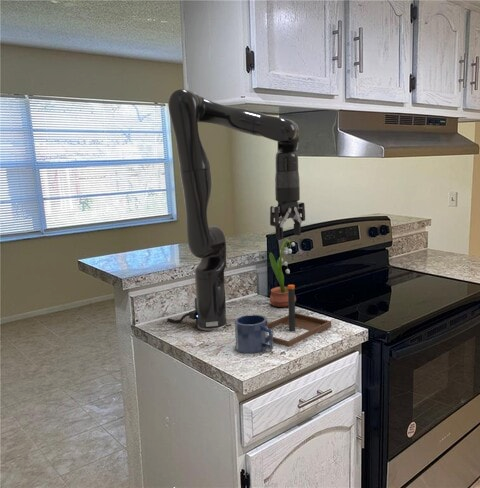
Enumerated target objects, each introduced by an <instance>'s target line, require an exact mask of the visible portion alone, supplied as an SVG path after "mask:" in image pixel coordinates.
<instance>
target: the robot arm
mask: <svg viewBox="0 0 480 488" xmlns="http://www.w3.org/2000/svg"><path fill="white" fill-rule="evenodd" d="M167 102H168V103H167V107H168V112H169V116H170V120H171V124H172V128H173V133H174V137H175V142H176V151H177V159H178V165H179V166H178V167H179V175H180V181H181V186H182V192H183V200H184V208H185V209H184V210H185V219H186V220H185V221H186V239H187V247H188V249H189V251H190V253H191V254H192V255H193V256H194V257H195V258H198V259H200V261H199V263H198V264H197V265H196V267H195V268H194V280H195V281H194V282H195V284H194V285H195V298H194V309H193V310H191V311H188V312H187V313H185V314H183V315H182V316H181V317H180V318H179V319H173V318H167V319H166V321H167V322H171V323H175V324H177V323H181V322H183V320H184V319H185V318H186V317H188V318H189V319H191V320H194V321H195V327H197V328H198V330H200V331H206V332H213V331H214V330H219V329H222V328H225V327H227V326H228V322H227V303H226V286H225V270H226V266H227V240H226V235H225V233H224V231H223V230H222V229H221V228H220V227H219V226H216V225H209V221H208V207H209V203H210V199H211V195H212V189H213V178H212V170H211V165H210V160H209V157H208V154H207V153H206V150H205V147H204V145H203V143H202V140H201V137H200V133H199V125H198V124H199V123H205V124H213V125H216V126H217V125H218V126H221V127H225V128H227V129H230V130H234V131H237V132H241V133H244V134H248V135H252V136H256V137H263V138H265V139H268V140H271V141H275V142H277V150H276V151H277V152H276V154H275V164H274V165H275V166H274V167H275V175H274V190H275V191H274V192H275V194H274V195H275V201H276V202H277V206H276V205H271V206H270V207H269V212H270V213H269V225H270V226H271V227H274V229H275V238H276V240H280V241H281V240H283V239H284V227H283V226H284V224H285V223H286V222H287V220H289V219H291V220H292V222H293V235H294V236H301V233H302V223H303V222H305V221H306V207H305V202H301V201H300V200H301V194H300V193H301V192H300V191H301V190H300V188H301V187H300V172H299V147H300V129H299V126H298V124H297V123H296V122H295V121H294V120H291V119H288V118H283V117H280V116H279V117H278V116H275V115H267V114H265V113H263V112H259V111H256V110H253V109H247V108H243V107H238V106H236V107H235V106H230V105H224V104H221V103H217V102H214V101H213V100H212V101H211V100H209V99H207V98H206V97H205V98H204V97H203V96H201V95H199V94H197V93H196V92H193V91H191V90H188V89H184V88H177V89H175V90H174V91H173V92H171V94H170V96H169V98H168V101H167Z"/></svg>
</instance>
